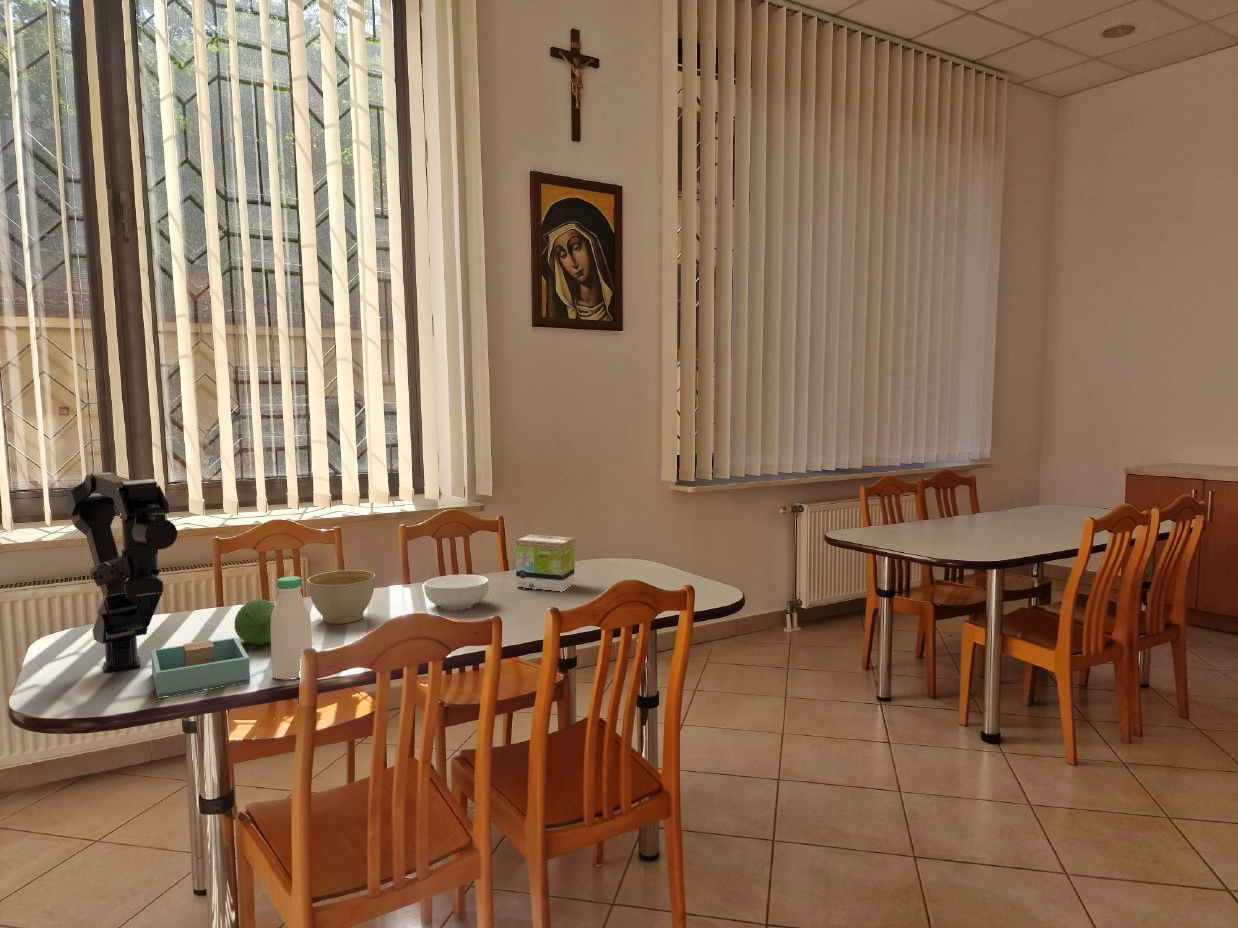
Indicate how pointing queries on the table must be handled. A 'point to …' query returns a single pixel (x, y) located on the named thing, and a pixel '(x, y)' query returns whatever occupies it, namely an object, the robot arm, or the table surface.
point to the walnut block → (198, 653)
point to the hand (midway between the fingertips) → (144, 620)
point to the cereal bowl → (456, 590)
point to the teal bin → (199, 669)
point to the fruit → (255, 622)
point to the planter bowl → (341, 594)
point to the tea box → (545, 562)
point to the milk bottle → (289, 629)
